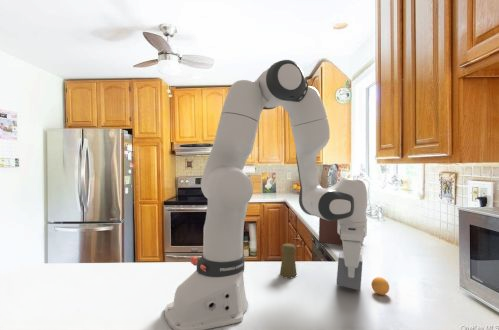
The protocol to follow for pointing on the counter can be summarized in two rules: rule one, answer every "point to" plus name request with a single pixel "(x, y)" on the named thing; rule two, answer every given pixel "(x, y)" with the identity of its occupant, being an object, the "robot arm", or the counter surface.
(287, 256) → the cork
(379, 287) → the ball
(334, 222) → the letter holder
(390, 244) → the counter surface
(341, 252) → the block
